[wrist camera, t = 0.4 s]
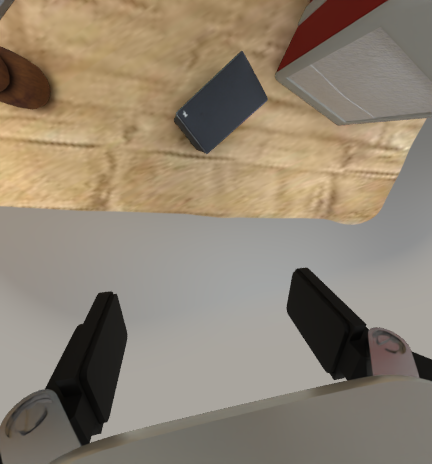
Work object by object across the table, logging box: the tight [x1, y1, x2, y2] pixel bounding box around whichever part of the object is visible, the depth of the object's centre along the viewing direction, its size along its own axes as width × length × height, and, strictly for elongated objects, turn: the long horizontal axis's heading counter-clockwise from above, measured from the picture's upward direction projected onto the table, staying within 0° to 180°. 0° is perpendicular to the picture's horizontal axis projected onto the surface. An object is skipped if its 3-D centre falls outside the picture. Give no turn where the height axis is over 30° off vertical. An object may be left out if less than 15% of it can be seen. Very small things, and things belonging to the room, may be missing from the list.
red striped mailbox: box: [275, 0, 432, 125], centre depth 22 cm, size 16×18×27 cm
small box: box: [174, 51, 268, 154], centre depth 30 cm, size 11×6×10 cm, turn 129°
